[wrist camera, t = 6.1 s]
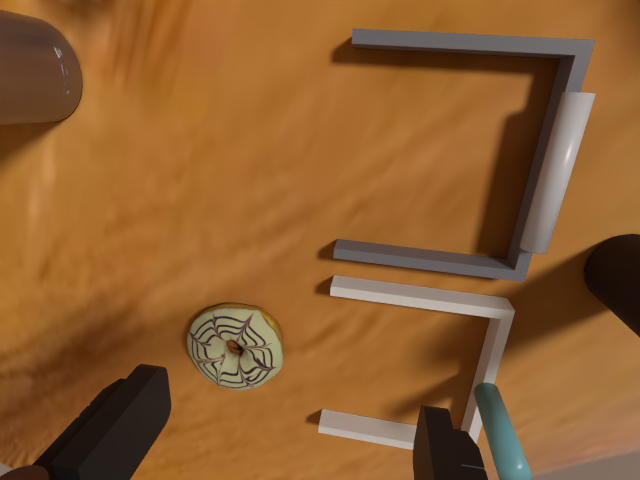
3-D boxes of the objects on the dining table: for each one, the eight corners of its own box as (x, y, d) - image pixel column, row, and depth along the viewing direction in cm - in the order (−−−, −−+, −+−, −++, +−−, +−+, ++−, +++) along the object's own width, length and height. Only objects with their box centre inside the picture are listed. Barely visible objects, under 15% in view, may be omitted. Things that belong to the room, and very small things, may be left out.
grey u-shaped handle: (336, 248, 37) (330, 266, 33) (355, 34, 31) (350, 23, 26) (520, 270, 35) (538, 293, 31) (585, 45, 28) (619, 35, 24)
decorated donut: (301, 362, 43) (294, 385, 40) (223, 380, 46) (210, 403, 43) (265, 286, 41) (254, 303, 37) (184, 309, 43) (166, 328, 40)
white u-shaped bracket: (321, 415, 45) (302, 512, 35) (333, 275, 38) (314, 342, 28) (472, 442, 43) (501, 554, 32) (514, 298, 36) (568, 381, 26)
